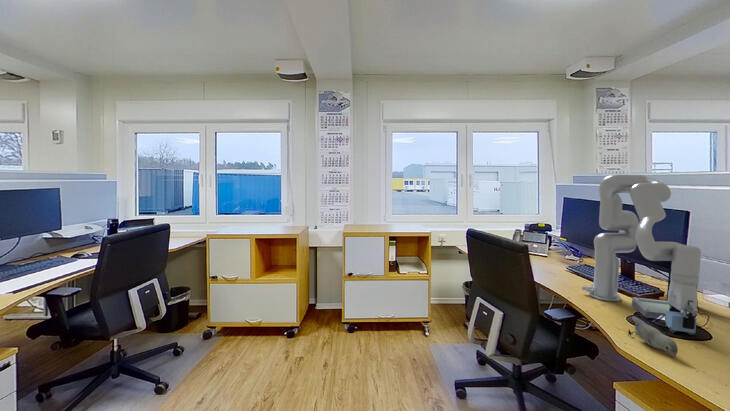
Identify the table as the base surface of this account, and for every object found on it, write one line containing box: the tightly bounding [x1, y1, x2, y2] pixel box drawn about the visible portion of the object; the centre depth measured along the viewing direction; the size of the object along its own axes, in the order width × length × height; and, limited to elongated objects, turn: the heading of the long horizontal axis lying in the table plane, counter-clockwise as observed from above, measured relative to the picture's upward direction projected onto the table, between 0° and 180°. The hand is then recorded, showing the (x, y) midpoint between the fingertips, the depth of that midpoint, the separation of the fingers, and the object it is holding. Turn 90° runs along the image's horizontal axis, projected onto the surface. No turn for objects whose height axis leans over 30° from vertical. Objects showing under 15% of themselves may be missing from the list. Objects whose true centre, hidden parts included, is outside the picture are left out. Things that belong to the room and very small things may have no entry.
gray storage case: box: [664, 311, 697, 335], centre depth 124 cm, size 8×5×7 cm, turn 69°
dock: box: [631, 296, 689, 316], centre depth 140 cm, size 16×14×4 cm
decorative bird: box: [627, 315, 679, 359], centre depth 113 cm, size 5×16×8 cm, turn 4°
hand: (681, 323), depth 124 cm, fingers open, 9 cm apart
